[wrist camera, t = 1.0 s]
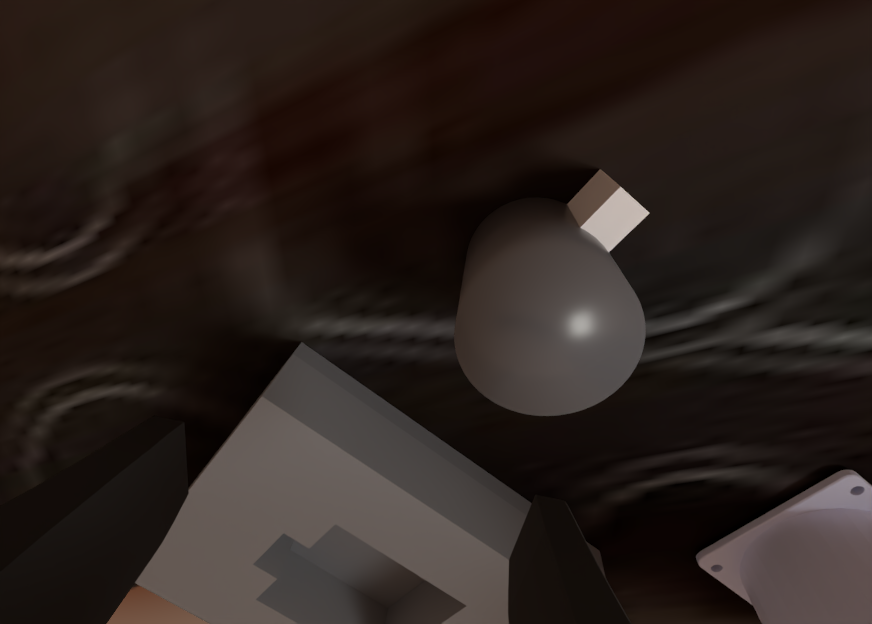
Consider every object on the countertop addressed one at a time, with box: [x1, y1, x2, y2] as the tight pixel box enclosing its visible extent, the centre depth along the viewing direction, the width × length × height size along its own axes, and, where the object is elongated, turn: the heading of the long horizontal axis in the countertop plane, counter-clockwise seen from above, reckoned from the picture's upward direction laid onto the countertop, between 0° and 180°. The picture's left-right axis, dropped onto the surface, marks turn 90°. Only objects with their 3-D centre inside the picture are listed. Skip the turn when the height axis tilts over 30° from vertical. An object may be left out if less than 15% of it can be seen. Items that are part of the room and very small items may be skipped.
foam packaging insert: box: [135, 342, 606, 624], centre depth 24 cm, size 18×14×4 cm
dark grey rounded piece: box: [454, 169, 649, 416], centre depth 15 cm, size 6×5×6 cm
